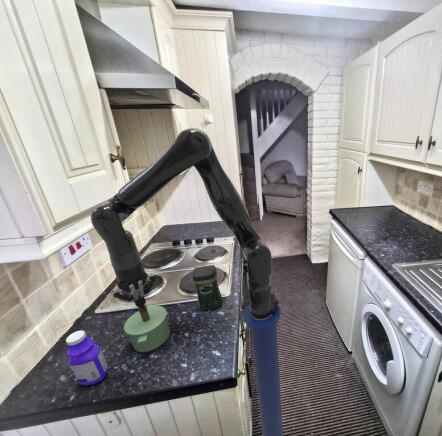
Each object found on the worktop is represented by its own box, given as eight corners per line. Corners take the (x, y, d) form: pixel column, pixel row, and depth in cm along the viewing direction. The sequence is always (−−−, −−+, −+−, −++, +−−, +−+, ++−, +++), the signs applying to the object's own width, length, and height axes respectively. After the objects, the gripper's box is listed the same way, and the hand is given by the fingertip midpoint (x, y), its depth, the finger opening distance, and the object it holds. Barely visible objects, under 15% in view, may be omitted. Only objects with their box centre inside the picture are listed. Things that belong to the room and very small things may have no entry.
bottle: (113, 365, 74) (95, 325, 68) (104, 383, 69) (83, 341, 63) (87, 371, 73) (66, 330, 67) (76, 389, 68) (52, 347, 61)
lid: (169, 304, 89) (165, 290, 87) (164, 329, 78) (160, 314, 75) (130, 313, 85) (125, 299, 82) (119, 342, 74) (113, 326, 71)
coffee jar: (222, 296, 104) (216, 261, 97) (222, 308, 97) (215, 271, 90) (200, 300, 102) (192, 264, 95) (197, 312, 95) (189, 275, 88)
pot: (172, 316, 94) (168, 299, 91) (167, 351, 79) (161, 333, 75) (139, 324, 90) (133, 308, 87) (126, 364, 75) (119, 345, 72)
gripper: (105, 277, 65) (123, 323, 72) (154, 257, 75) (166, 299, 81) (98, 268, 70) (115, 312, 76) (145, 250, 79) (157, 291, 86)
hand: (141, 305), depth 79 cm, fingers closed
